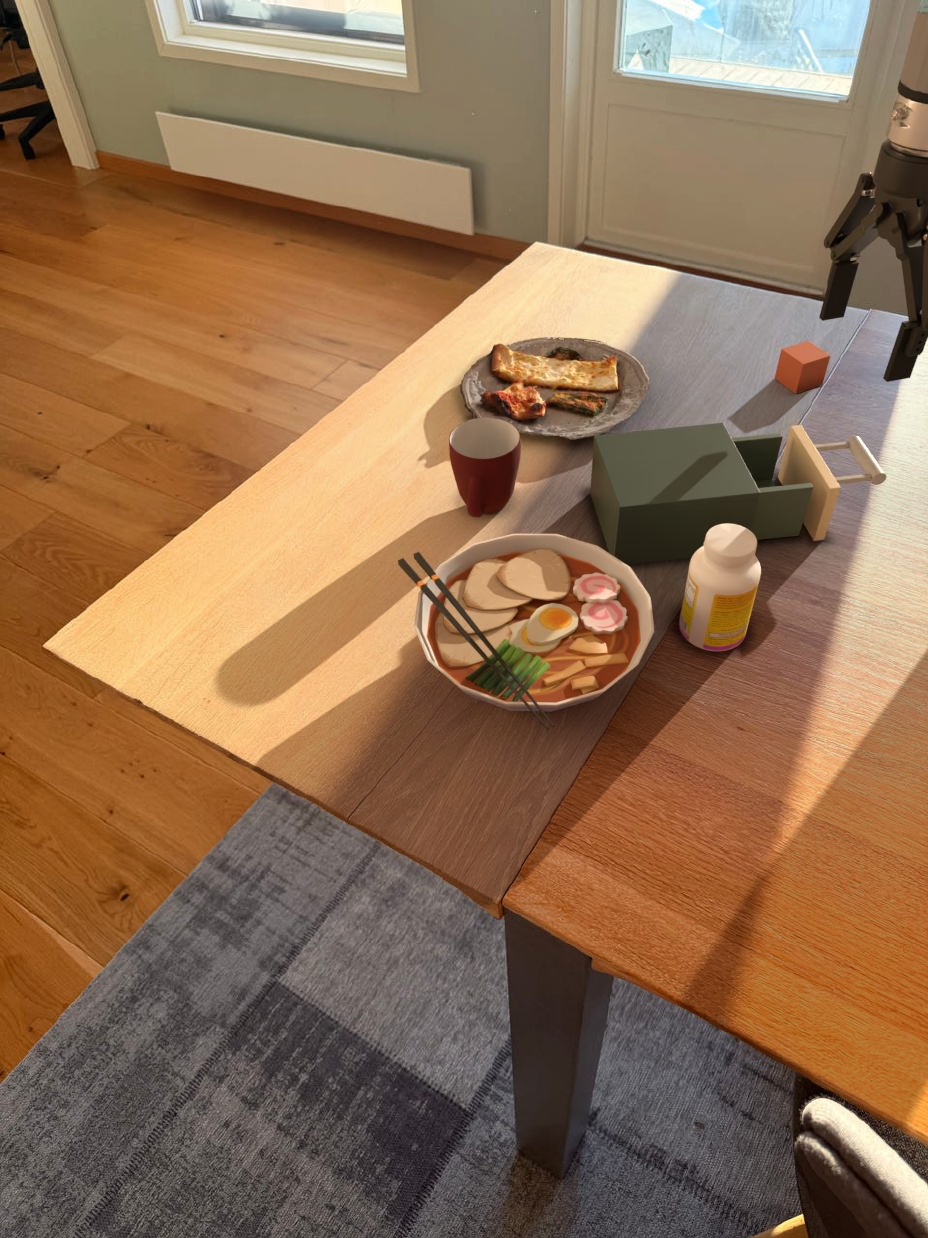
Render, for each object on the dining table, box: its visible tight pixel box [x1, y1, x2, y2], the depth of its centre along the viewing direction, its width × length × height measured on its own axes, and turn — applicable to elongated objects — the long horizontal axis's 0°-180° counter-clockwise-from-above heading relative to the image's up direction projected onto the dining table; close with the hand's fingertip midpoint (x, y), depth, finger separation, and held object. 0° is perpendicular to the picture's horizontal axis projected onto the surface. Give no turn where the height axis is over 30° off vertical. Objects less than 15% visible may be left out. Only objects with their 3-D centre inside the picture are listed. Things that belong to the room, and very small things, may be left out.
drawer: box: [731, 424, 887, 542], centre depth 102 cm, size 20×12×7 cm, turn 96°
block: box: [774, 340, 831, 395], centre depth 122 cm, size 4×4×4 cm
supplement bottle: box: [678, 524, 762, 652], centre depth 88 cm, size 7×7×13 cm
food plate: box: [459, 336, 650, 441], centre depth 123 cm, size 25×23×4 cm
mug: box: [448, 417, 522, 518], centre depth 104 cm, size 10×8×10 cm
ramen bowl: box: [397, 533, 655, 730], centre depth 88 cm, size 25×23×8 cm
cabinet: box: [589, 422, 760, 565], centre depth 101 cm, size 15×13×9 cm
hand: (862, 346), depth 101 cm, fingers open, 13 cm apart
